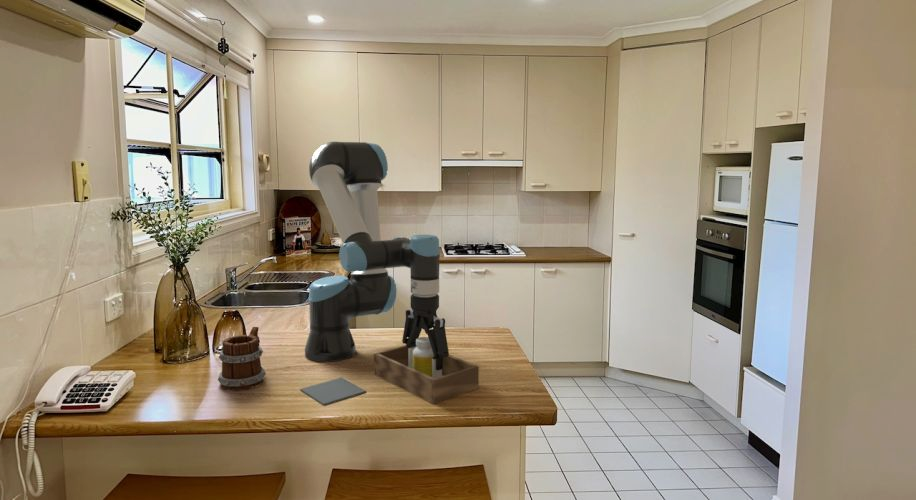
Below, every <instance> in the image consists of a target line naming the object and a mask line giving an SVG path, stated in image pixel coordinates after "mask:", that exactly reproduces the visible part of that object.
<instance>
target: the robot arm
mask: <svg viewBox="0 0 916 500" xmlns="http://www.w3.org/2000/svg"><path fill="white" fill-rule="evenodd" d="M308 167H309V168H308V171H309V172H308V173H309V177H310V181H311V182H312V184H313V187H314V188H316V189H318V190H319V191H320V195H321V196H322V199H323V201H324V203H325V205H326V207H327V210H328V213H329V215H330V217H331V219H332V222H333V224H334V226H335V229H336V232H337V233H338V235H339V238H340V241H341V242H342V244H341V246H340V248H339V253H338V257H339V262H340V266H341V267H342V269H343V270H344V271H346V272H350V280H349V278H348V277H347V276H345V275H331V276H325V277H321V278H319V279H316V280H315V281H313V282H311V284H310V285H309V292H308V293H309V294H308V301H309V303H308V304H309V327H310V328H309V333H308V337H307V340H306V343H305V347H304V356H305V357H306V359H308V360H311V361H315V362H336V361H337V362H338V361H343V360H346V359H349V358H351V357H353V356H354V355H355V354H356V344H355V340H354V338H353V335H352V332H351V329H350V319H351V318H358V317H365V316H371V315H380V314H383V313H387V312H389V311H391V310H392V308H393V306H394V305H395V303H396V299H397V284H396V282H395V279H394V278H393V276H392V275H391V276H390V275H389V271H388V270H387V269H395V268H401V267H402V268H403V267H405V268H409V269H410V293H411V295H410V309H407V310H405V322H404V329H403V332H402V333H403V334H402V340H401V341H402V344H405V345H406V346H407V347H408V367H410V368H412V369H413V350H414V349H415V348H416V347H417V346H416V339H417V338H420V335H421V332H422V330H424V332H425V334H426V335H427V337H428V338H429V341H430V344H431V347H432V351H433V354H434V357H433V358H432V377H433V378H438V377H441V376H443V375H442V369H443V357H447V356H449V355H450V353H449V352H450V351H449V347H448V346H449V345H448V338H447V332H446V319H445V318H443V317H442V318H440V317H438V315H437V311H438V309H439V308H440V295H439V293H440V253H441V250H440V239H439V237H438V236H437V235H433V234H415V235H412V236H411V237H410V238H407V237H404V236H403V237H394V238H393V239H386V240H382V239H381V225H380V224H381V223H380V214H379V212H380V211H379V198H378V190H379V189H380V187H381V186H382V181H383V180H384V179H386V177H387V174H388V171H389V169H388V167H389V165H388V159H387V156H386V153H385V151H384V149H382V146H380V145H379V144H377V143H371V142H366V141H364V142H363V141H361V142H357V141H355V142H352V141H329V142H327V143H323V144H322V145H320V146H319V147H318V148H317V149H316V150H315V151H314V153H313V154H312V156H311V159H310V161H309V165H308ZM414 346H415V347H414Z"/></svg>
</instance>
